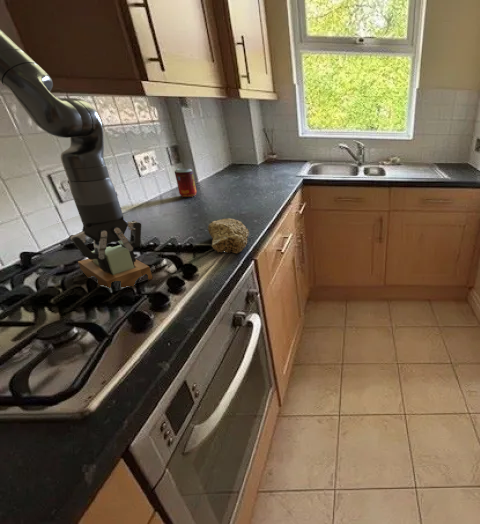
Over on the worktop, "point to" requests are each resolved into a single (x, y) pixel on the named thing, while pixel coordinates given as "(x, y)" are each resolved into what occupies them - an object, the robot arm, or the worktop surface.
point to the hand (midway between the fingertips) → (119, 267)
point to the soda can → (185, 182)
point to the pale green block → (118, 259)
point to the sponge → (228, 235)
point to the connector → (106, 278)
